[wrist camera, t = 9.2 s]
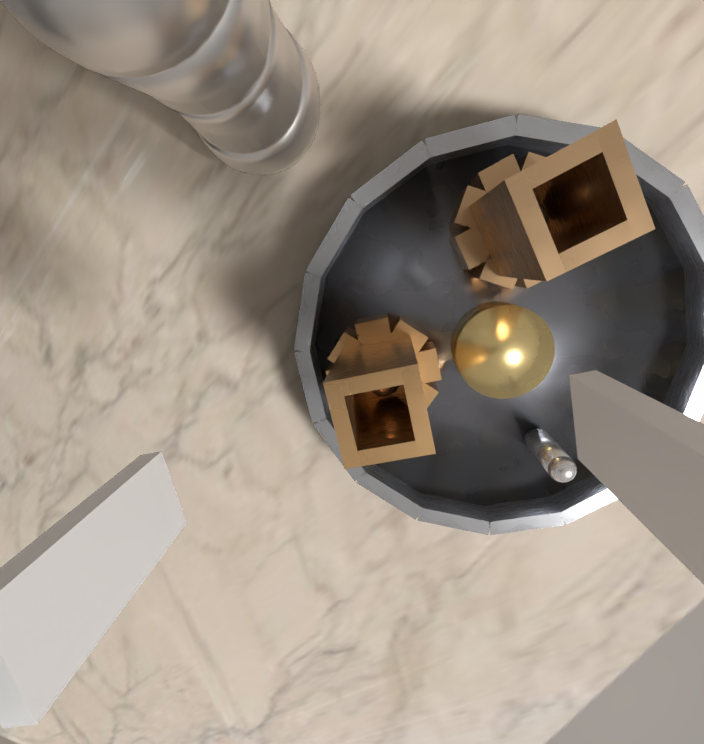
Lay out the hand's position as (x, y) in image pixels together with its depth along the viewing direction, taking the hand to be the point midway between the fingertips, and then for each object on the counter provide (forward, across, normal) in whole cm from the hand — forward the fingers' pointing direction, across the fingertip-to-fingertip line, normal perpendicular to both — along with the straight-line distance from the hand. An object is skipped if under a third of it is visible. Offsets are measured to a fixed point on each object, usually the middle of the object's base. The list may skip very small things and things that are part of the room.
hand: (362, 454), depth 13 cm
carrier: (+14, +7, 0) cm, 15 cm away
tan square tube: (+12, +9, +6) cm, 16 cm away
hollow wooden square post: (+13, +1, 0) cm, 13 cm away
